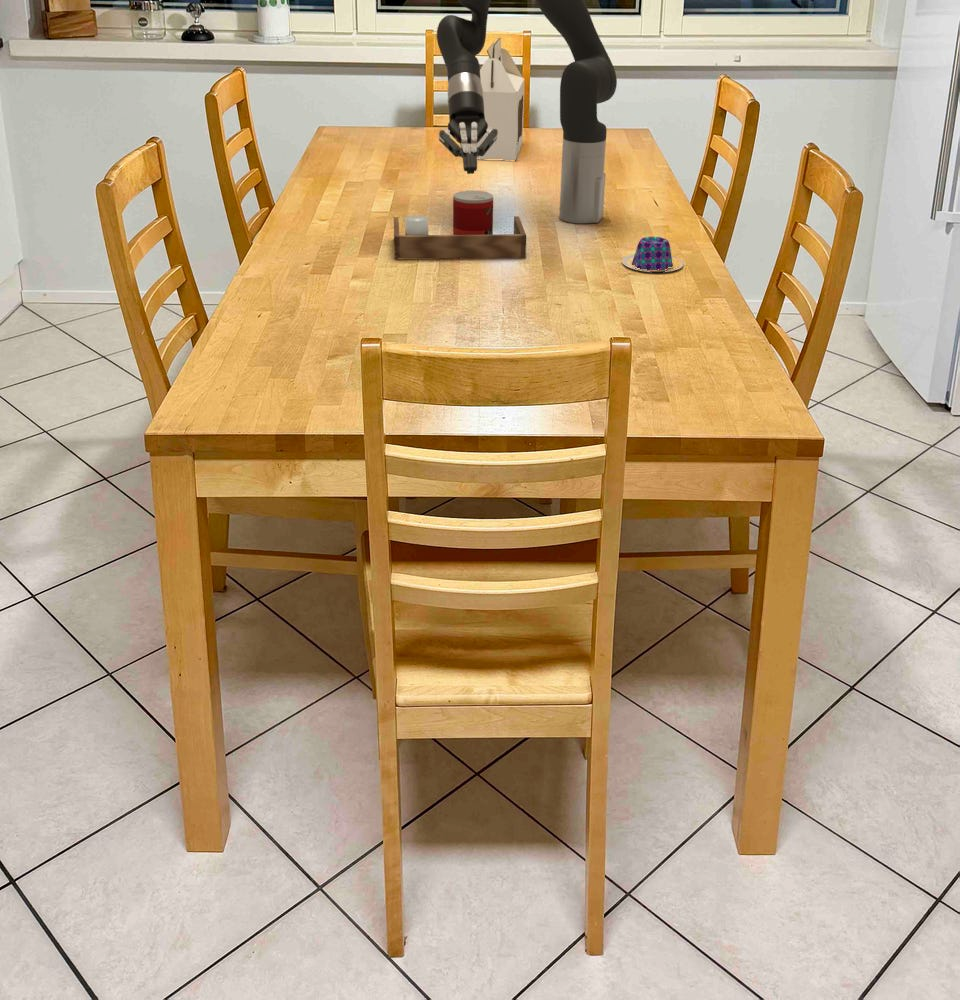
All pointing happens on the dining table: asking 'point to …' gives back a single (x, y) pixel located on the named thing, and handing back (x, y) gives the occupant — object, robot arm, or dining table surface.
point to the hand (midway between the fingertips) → (470, 171)
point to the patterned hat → (652, 255)
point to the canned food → (472, 213)
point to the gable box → (502, 103)
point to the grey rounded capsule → (416, 225)
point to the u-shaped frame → (461, 244)
